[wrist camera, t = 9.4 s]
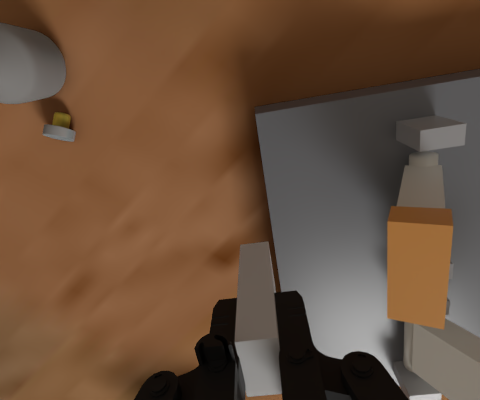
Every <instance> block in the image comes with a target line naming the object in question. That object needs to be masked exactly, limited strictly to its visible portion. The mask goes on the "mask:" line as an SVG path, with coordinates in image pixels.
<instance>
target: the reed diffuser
mask: <svg viewBox="0 0 480 400" xmlns="http://www.w3.org/2000/svg"><path fill="white" fill-rule="evenodd" d="M65 78H66V66H65V61H64V59H63V56H62V54H61V52H60V50H59V49H58V47H57V46H56V45H55V43H54V42H53V41H52V40H50V39H49V38H48V37H47V36H45V35H44V34H42V33H40V32H37V31H34V30H30V29H26V28H22V27H18V26H14V25H9V24H5V23H0V103H5V104H20V103H26V102H31V101H35V100H40V99H44V98H48V97H51V96H53V95H55V94H56V93H57V92H59V90H60V89H61V88H62V86H63V84H64V82H65ZM70 120H71V117H70V115H68V114H66V113H62V112H55V113H54V118H53V123H52V125H48V124H46V125H44V129H43V135H44V136H47V137H50V138H54V139H59V140H64V141H72V142H73V141H74V140H75V134H76V132H75V131H73V130H71V129H69V126H70Z"/></svg>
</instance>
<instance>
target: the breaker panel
mask: <svg viewBox="0 0 480 400" xmlns="http://www.w3.org/2000/svg"><path fill="white" fill-rule="evenodd" d="M255 116H256V123H257V130H258V137H259V144H260V151H261V157H262V164H263V171H264V178H265V185H266V191H267V198H268V205H269V212H270V219H271V226H272V232H273V239H274V246H275V253H276V260H277V267H278V273H279V280H280V287H281V292H286V291H295V290H297V292H298V293H299V294H300V295H301V296H302V297H303V301H304V305H305V310H306V315H307V319H308V323H309V328H310V332H311V337H312V341H313V344H314V346H315V347H316V349H317V350H318V351H320V352H321V353H322V354H324V355H326V356H329V357H332V358H338V359H343V357H344V356H345V355H347V354H348V353H350V352H355V351H361V352H367V353H369V354H371V355H373V356H375V357H376V358H377V359H378V360H379V361H380V362H381V363H382V365H383V366H384V367H385V369H386V370H387V371H388V373H389V374H390V375H391V377H392V378H393V379H394V381H395V382H396V383H397V385H398V386H400V387H401V390H402V391H403V393H404V394H405V395H406V397H407V398H408V399H409V400H441V395H442V394H441V393H440V392H439V391H437V390H436V389H435V388H434V387H432V386H431V385H430V384H428V383H427V382H426V381H424V380H423V379H422V378H421V377H419V376H418V375H417V374H415V373H414V372H411V371H409V370H408V369H406V368H405V366H404V364H403V356H404V322H403V321H398V320H393V319H389V318H387V221H388V217H389V213H390V209H391V206H397V202H398V197H399V192H400V187H401V182H402V177H403V172H404V168H405V165H409V155H410V154H411V153H415V152H422V151H429V152H435V153H438V154H439V156H438V165H442V170H443V184H444V197H445V209H452V218H453V235H452V247H451V258H450V270H449V281H448V292H447V304H446V315H445V318H446V319H447V320H449V321H451V322H453V323H455V324H456V325H458V326H460V327H462V328H463V329H465V330H467V331H469V332H470V333H472V334H474V335H476V336H478V337H479V338H480V69H476V70H470V71H464V72H458V73H452V74H446V75H440V76H434V77H428V78H423V79H417V80H411V81H405V82H399V83H393V84H387V85H381V86H375V87H369V88H364V89H358V90H352V91H346V92H340V93H334V94H328V95H322V96H316V97H311V98H305V99H299V100H293V101H287V102H281V103H275V104H269V105H263V106H257V107H255Z"/></svg>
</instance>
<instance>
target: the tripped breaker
mask: <svg viewBox="0 0 480 400" xmlns="http://www.w3.org/2000/svg"><path fill="white" fill-rule="evenodd" d="M438 156H439V154H438V153H435V152H429V151H422V152H415V153H411V154H410V155H409V165H405V168H404V172H403V177H402V182H401V187H400V192H399V197H398V202H397V206H391V209H390V213H389V217H388V221H387V318H389V319H393V320H398V321H403V322H408V323H413V324H418V325H423V326H428V327H433V328H438V329H443V330H444V327H445V315H446V304H447V292H448V281H449V270H450V258H451V247H452V235H453V218H452V209H445V197H444V184H443V170H442V165H438Z"/></svg>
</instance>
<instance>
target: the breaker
mask: <svg viewBox="0 0 480 400" xmlns="http://www.w3.org/2000/svg"><path fill="white" fill-rule="evenodd" d="M403 364H404V366H405V368H406V369H408V370H409V371H411V372H414V373H415V374H417V375H418V376H419V377H421V378H422V379H423V380H424V381H426V382H427V383H428V384H430V385H431V386H432V387H434V388H435V389H436V390H437V391H439V392H440V393H441V394H443V395H444V396H445V397H447V398H448V399H449V400H480V338H479V337H478V336H476V335H474V334H472V333H470V332H469V331H467V330H465V329H463V328H462V327H460V326H458V325H456V324H455V323H453V322H451V321H449V320H447V319H446V318H445V327H444V330H443V329H438V328H433V327H428V326H423V325H418V324H413V323H408V322H404V356H403Z"/></svg>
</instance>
